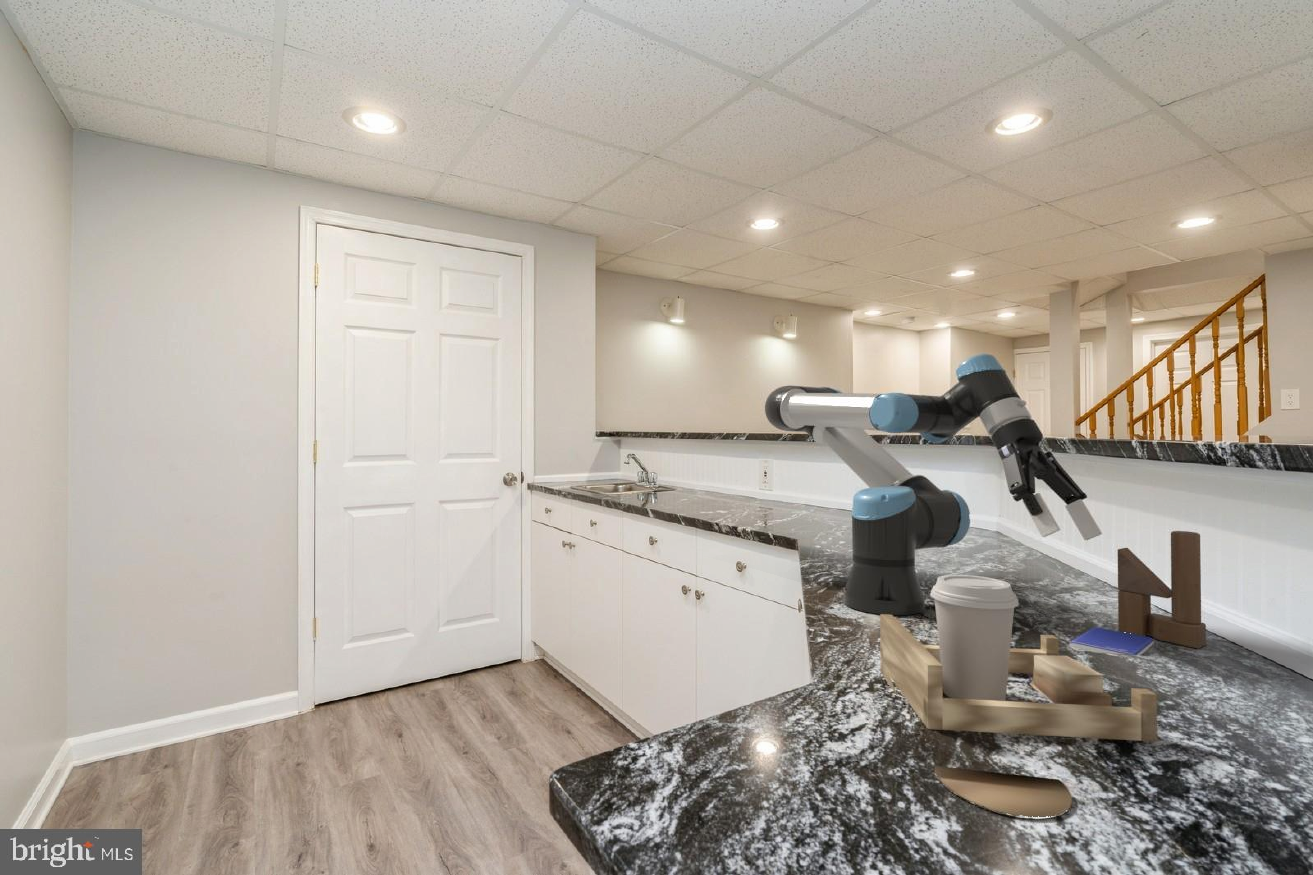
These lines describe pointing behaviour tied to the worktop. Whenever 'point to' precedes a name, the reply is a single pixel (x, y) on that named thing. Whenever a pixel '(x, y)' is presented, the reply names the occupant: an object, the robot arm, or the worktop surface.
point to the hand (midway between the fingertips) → (1073, 535)
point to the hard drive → (1112, 642)
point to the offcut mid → (1070, 694)
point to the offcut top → (1068, 674)
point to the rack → (923, 689)
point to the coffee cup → (974, 635)
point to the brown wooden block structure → (1163, 594)
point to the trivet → (1008, 791)
